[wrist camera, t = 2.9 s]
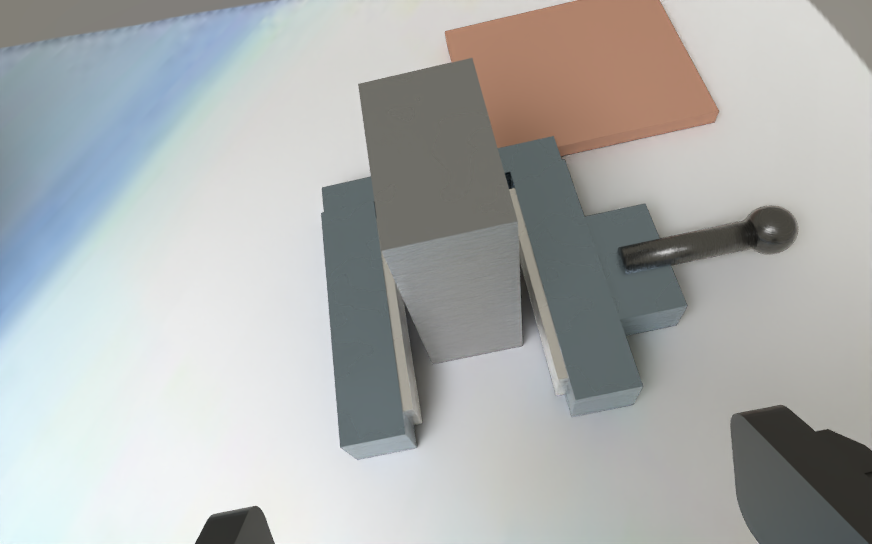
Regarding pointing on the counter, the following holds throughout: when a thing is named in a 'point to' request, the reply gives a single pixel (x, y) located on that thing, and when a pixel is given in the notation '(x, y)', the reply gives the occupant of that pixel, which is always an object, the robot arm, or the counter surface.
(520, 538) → the counter surface
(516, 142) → the mat
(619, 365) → the vise
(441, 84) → the gray rectangular prism
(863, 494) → the robot arm
